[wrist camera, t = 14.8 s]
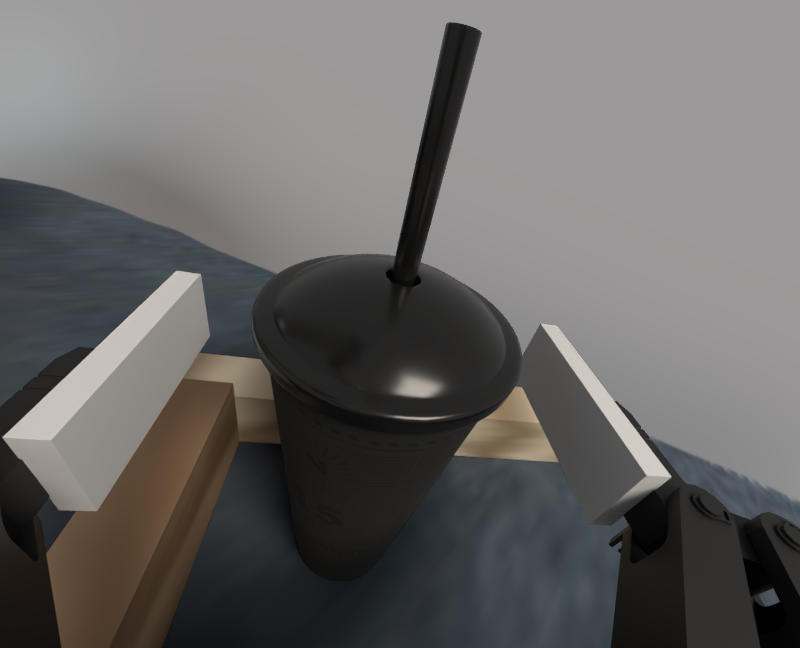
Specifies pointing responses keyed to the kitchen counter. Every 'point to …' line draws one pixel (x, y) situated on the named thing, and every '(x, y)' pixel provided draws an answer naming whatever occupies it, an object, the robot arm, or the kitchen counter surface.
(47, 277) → the kitchen counter surface
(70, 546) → the wooden l-shaped block
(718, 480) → the kitchen counter surface
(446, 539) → the kitchen counter surface
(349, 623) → the kitchen counter surface
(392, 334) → the drinking cup
